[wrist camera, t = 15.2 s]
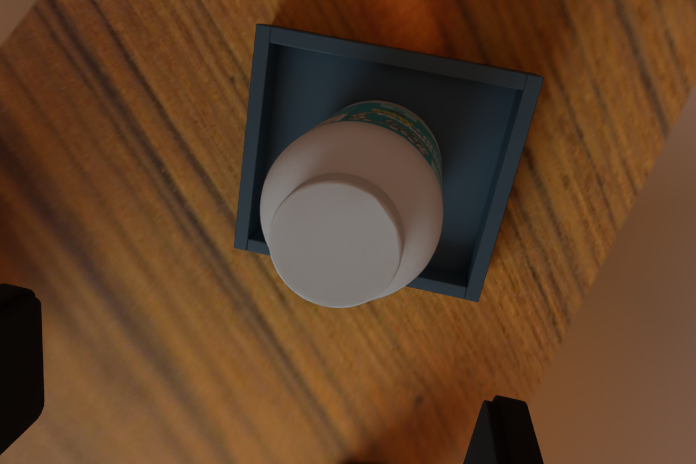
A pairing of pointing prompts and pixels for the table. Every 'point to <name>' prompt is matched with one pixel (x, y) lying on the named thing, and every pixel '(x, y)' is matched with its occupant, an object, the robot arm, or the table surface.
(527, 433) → the robot arm
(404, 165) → the pill bottle
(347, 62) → the tray
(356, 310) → the table surface
